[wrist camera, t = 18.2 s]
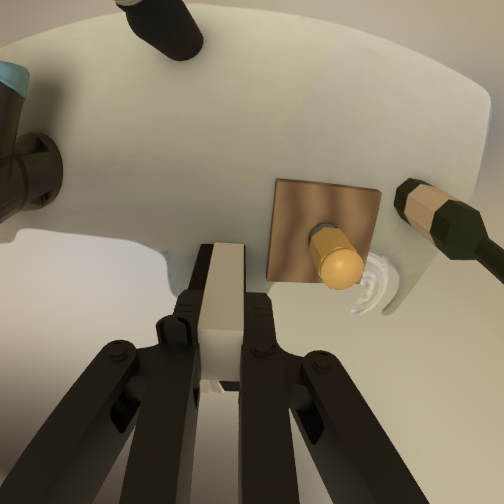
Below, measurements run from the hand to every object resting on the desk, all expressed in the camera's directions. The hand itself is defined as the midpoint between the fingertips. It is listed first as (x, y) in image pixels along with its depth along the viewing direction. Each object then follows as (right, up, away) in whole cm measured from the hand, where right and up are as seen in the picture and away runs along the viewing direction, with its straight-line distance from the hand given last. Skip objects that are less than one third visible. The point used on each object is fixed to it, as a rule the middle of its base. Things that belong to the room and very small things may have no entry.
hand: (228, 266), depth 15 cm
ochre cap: (+14, +2, +30) cm, 33 cm away
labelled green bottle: (+31, +11, +32) cm, 46 cm away
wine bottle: (-9, +33, +20) cm, 40 cm away
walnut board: (+13, +4, +35) cm, 37 cm away
